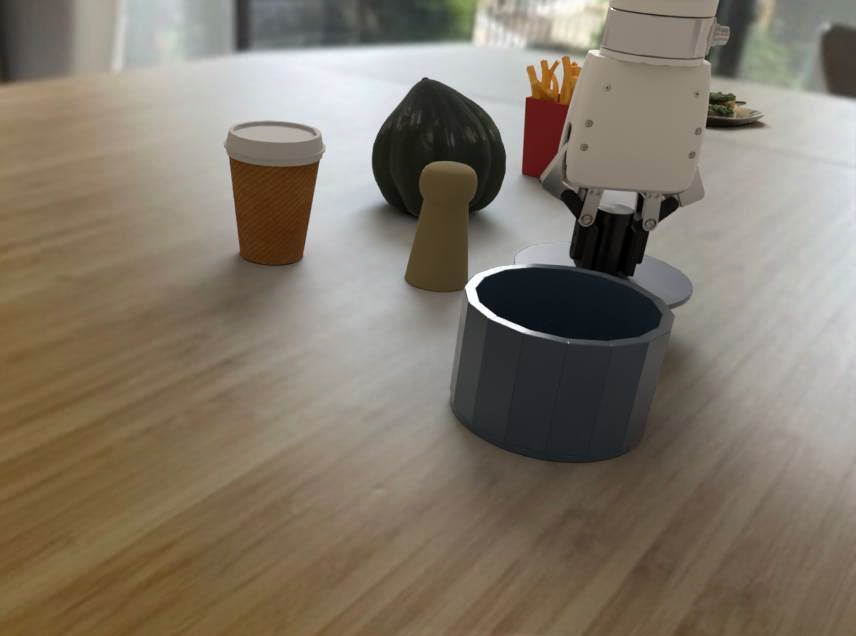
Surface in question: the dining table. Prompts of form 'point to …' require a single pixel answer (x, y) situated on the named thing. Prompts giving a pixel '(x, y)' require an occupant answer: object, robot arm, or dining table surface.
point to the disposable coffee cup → (273, 187)
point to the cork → (442, 228)
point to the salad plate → (729, 111)
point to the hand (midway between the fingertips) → (602, 267)
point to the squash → (436, 145)
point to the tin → (558, 360)
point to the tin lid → (617, 257)
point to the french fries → (546, 115)
